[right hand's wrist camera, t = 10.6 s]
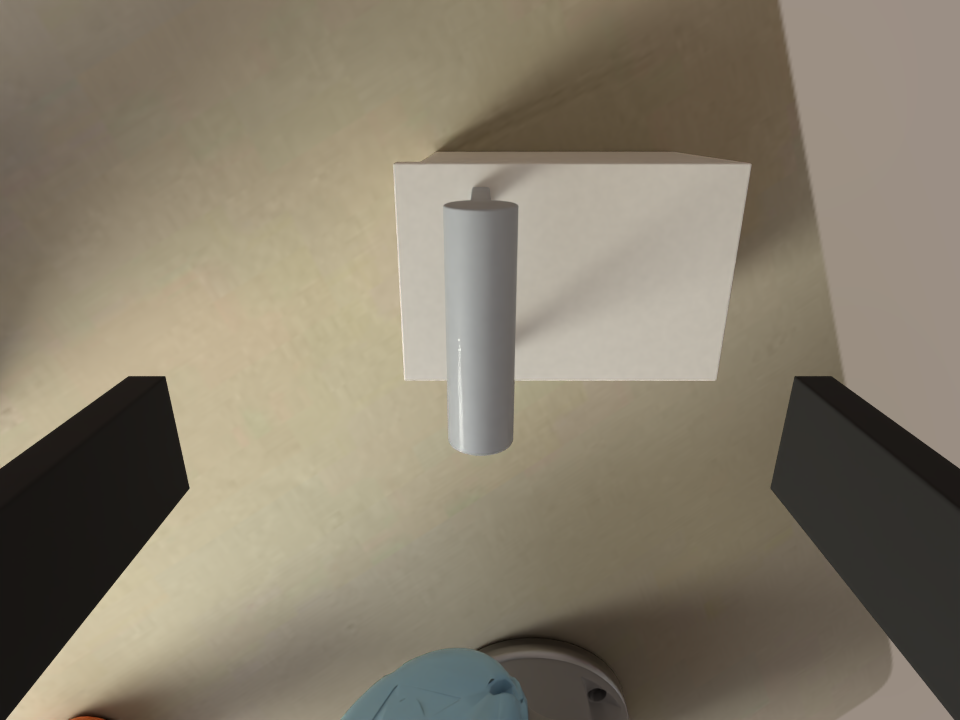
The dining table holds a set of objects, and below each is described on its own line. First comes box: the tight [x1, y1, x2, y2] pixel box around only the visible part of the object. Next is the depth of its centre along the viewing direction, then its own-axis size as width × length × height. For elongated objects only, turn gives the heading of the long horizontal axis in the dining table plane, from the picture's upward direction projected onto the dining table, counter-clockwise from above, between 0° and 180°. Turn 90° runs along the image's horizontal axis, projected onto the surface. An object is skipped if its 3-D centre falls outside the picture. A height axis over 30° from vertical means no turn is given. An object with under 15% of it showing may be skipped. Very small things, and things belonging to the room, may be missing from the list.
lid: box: [393, 162, 752, 456], centre depth 22 cm, size 14×9×8 cm, turn 90°
